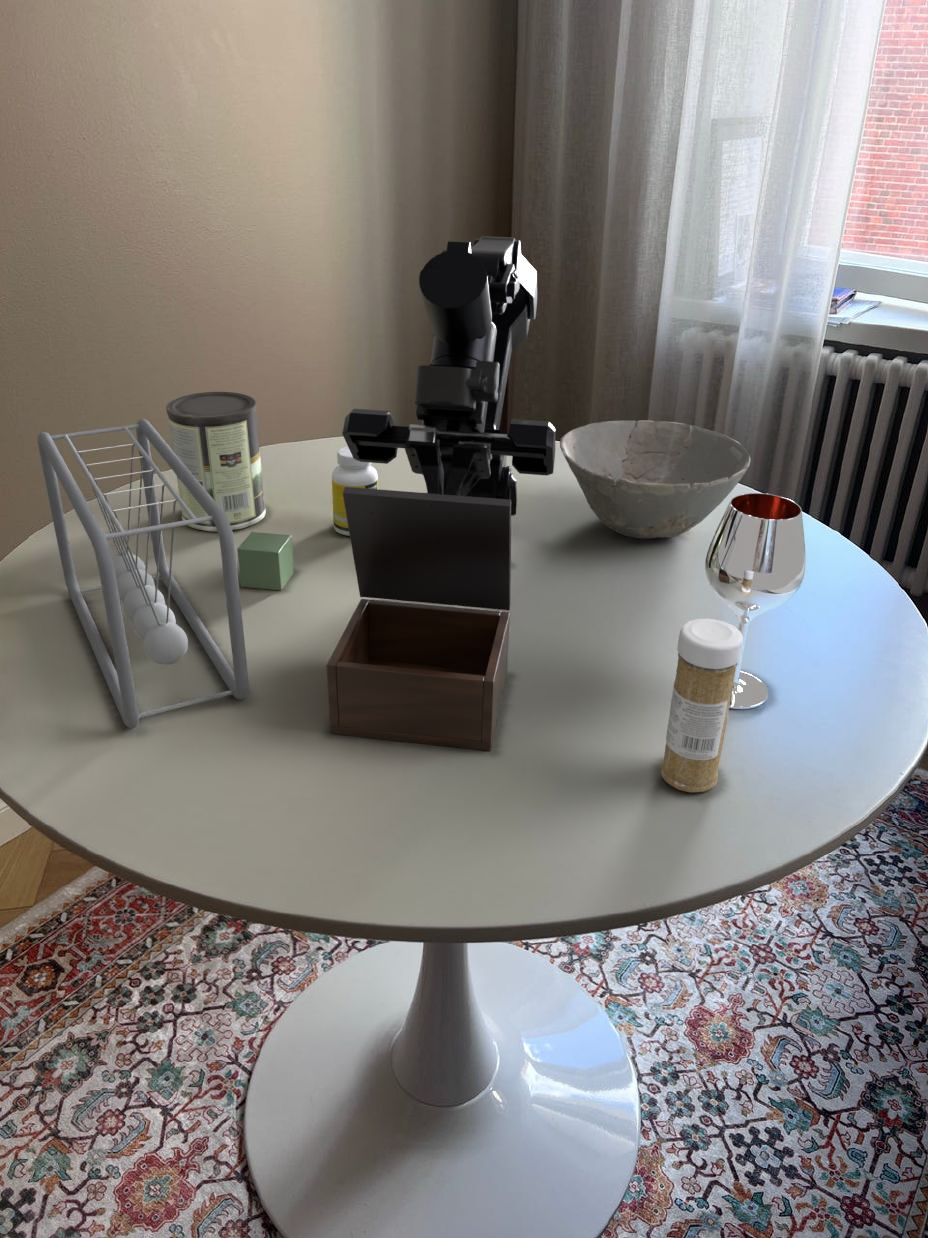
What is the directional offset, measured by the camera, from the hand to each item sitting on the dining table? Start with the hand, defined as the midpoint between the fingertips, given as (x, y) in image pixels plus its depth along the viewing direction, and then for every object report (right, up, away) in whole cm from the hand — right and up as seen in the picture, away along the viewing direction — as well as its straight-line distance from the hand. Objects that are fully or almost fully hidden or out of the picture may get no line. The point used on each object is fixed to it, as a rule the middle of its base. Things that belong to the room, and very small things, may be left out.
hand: (438, 530), depth 87 cm
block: (-19, -3, +20) cm, 28 cm away
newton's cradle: (-28, -10, +8) cm, 31 cm away
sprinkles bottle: (+20, -21, -8) cm, 30 cm away
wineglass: (+27, -14, +3) cm, 30 cm away
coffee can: (-27, +5, +35) cm, 45 cm away
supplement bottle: (-11, +3, +33) cm, 35 cm away
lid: (-1, -2, -3) cm, 4 cm away
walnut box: (-1, -15, 0) cm, 15 cm away
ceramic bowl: (+24, +4, +35) cm, 43 cm away
